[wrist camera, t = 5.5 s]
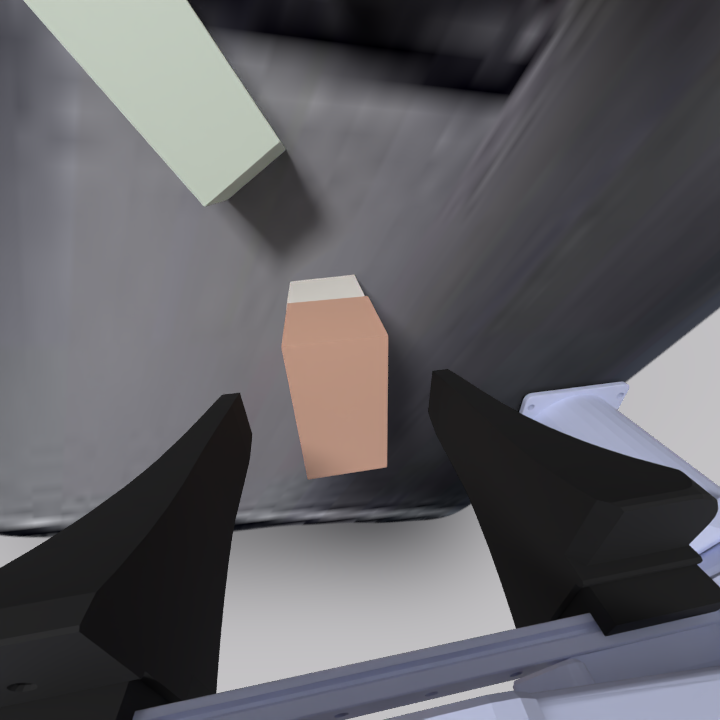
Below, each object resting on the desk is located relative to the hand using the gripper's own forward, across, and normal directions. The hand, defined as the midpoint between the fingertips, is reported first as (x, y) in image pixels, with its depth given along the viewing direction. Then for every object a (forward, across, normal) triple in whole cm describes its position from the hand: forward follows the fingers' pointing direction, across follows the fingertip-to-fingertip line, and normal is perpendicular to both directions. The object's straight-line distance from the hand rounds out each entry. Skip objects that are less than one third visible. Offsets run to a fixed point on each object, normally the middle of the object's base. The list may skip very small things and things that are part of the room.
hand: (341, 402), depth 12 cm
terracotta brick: (+3, 0, 0) cm, 3 cm away
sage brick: (+6, +4, -10) cm, 13 cm away
